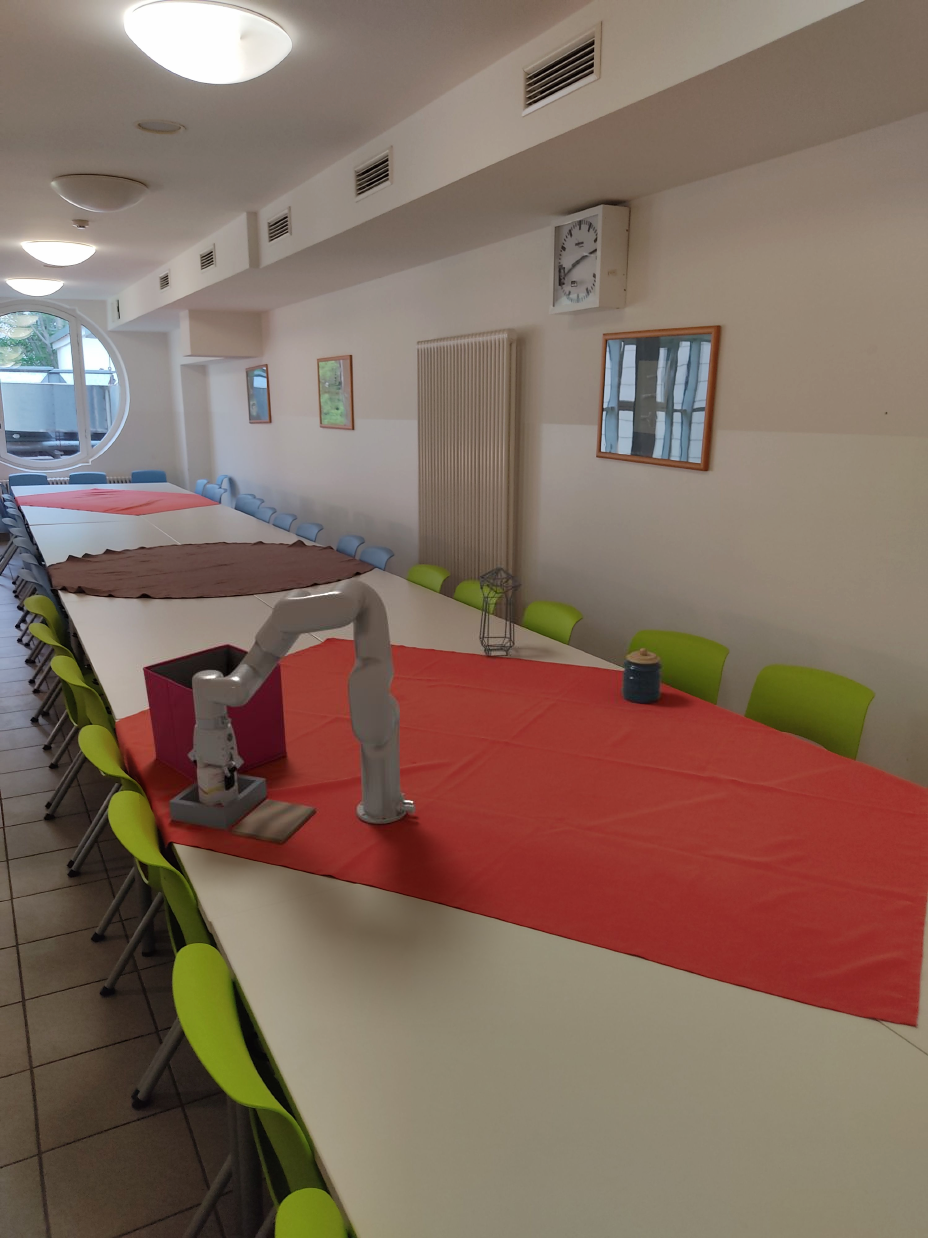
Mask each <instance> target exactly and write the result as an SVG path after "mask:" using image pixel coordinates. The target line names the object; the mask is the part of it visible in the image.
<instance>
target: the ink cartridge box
mask: <svg viewBox="0 0 928 1238" xmlns="http://www.w3.org/2000/svg"><path fill="white" fill-rule="evenodd" d="M232 762H233V761H232ZM233 764H234V765H235V762H233ZM228 768H229V765H228ZM229 770H230V768H229ZM225 775H226V774H225V772H224V770H223V767H222V766H219V765H213V764H207V763H204V764H203V763H202V762H201V760H200V757H198V758H197V778H198V789H199V800H200V803H201V804H207V805H212V806H217V807H224V806H226V805H227V804H228V803H229V802H231V801H232V800H233V799H234V798H236V797H237V796H238V795H239V794H238V785H237V771H236V772H234V777H235V785H234V787H232V788H231V789H230V790H228V791H227V790H225V782H224V776H225Z"/></svg>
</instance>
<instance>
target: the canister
mask: <svg viewBox="0 0 928 1238" xmlns="http://www.w3.org/2000/svg"><path fill="white" fill-rule="evenodd" d="M625 658H626V659H625V660H624V661H623V662H622V665H623V667H624V669H623V670H622V687H621V695H622V697H623V699H625V700H627V701H628V702H631V703H638V704H651V703H655V702H658V701H659V700H660V697H661V694H662V693H661V686H662V685H661V684H662V677H663V675H662V673H661V670H662V668H663V665H662V663H661V658H660V656H658V655H657V654H656V653H654V652H651V651H648V649H647V648H645V647H641V648H640V649H639V650H635V651H632V652H631V653H629V654H626V656H625Z"/></svg>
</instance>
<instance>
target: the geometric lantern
mask: <svg viewBox="0 0 928 1238" xmlns="http://www.w3.org/2000/svg"><path fill="white" fill-rule="evenodd" d="M502 573H504V575H505V576H506V577H503V575H502ZM476 579H478V581H479V589H480V590H481V592H482V596H483V597H482V606H481V607H482V608H481V617H480V618H481V619H480V627H479V638H478V639H479V643H480V646H482V647H483V649H484V652H485V655H486V656H487V657H503V656H505V657H506V656H507V657H508V655H509V650H510V649H512V648H513V647H514V646H515V641H516V640H515V602H514V598H515V594H516V593H515V592H518V589H519V588H520V587H521V586H522V584H521V583H520V582H519V581H518V580H517V578H516V577H515V576H514V575H513V574H511V573H509V571H507V570H505V568H504V567H501V566H497V567H495V568H493V569H491V570H489V571H487V572H486V573H483V574H482V575H480V576H477V577H476ZM504 579H506V580H505V581H504ZM492 580H493V582H491V581H492ZM498 580H500V584H498ZM510 580H511V581H512V582H513V583H514V584H510V585H505V584H506V583H508V582H509V581H510ZM484 587H488V588H489V591H488V593H487V595H486V596H485V593H484ZM494 587H495V589H494ZM498 588H501V590H502V591H499V592H498ZM505 588H508V589H507V590H505ZM511 590H512V593H511V595H510V597H509V596H508V595H507V592H509V591H511ZM491 591H493V592H494V594H493V596H490V594H491ZM498 594H499V595H501V594H504V596H496V595H498ZM493 598H495V599H498V598H500V599H501V598H502V599H503V598H505V599H506V603H505V605H506V606H505V607H506V609H505V625H504V627H505V628H504V636H490V605H500V603H499V602H498V603H493V602H492V603H491V601H492V599H493ZM508 617H509V618H508ZM508 621H509V622H508ZM486 623H487V624H486ZM486 625H487V633H486ZM507 625H509V628H508V630H509V632H508V633H509V635H508V636H509V637H508V636H507V627H508V626H507ZM485 633H486V634H487V635H486V636H485ZM485 639H487V640H485ZM490 639H503V641H502V643H499V644H497V643H495V644H490V643H489V640H490ZM506 639H507V640H508V641H507V642H505V640H506ZM504 642H505V643H504ZM508 643H509V645H507V644H508ZM492 652H504V653H505V654H498V655H497V654H496V655H492Z"/></svg>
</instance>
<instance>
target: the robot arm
mask: <svg viewBox="0 0 928 1238" xmlns="http://www.w3.org/2000/svg"><path fill="white" fill-rule="evenodd" d="M271 612H272V613H271V614H269V616H268V618H267V619H266V621H265V622H264V623H263V625H262V626H261V627H260V628H259V629H258V631H257V632H256V634H255V636H254V639H255V641H254V643H253V645H252V647H251V648H250V649H249V651H248V654H247V655H246V656H245V658H244V659H243V660H242V662H241V663H240V664H239V666H238V667H237V668H236V669H235V670H234V671H233V672H232V673H231V674H230V675H228V676H226V677H224V676H223V674H222V673H221V672H219V671H216V670H205V671H201V672H198V673H196V674H195V675H194V676H193V678H192V687H193V697H194V707H195V717H196V725H195V728H194V749H193V750H192V751H191V752H190V753H189V754H188V757H189V758H190V759H191V760H192V761H193V763H194V765H195V766H196V767H197V758H198V757H200V760H201V762H202V763H203V764H204V763H207V764H213V765H219V766H222V767H223V770H224V772H225V774H226V775H225V776H224V782H225V790H227V791H228V790H230V789H231V788H232V787H234V785H235V777H234V772H236V770H237V769H238V768H239V767H240V766H241V765H242V764H243V763H244V761H243V760H242V759H241V758H240V756H239V755H238V752H237V745H236V739H235V735H234V731H233V728H232V726H231V724H230V723H231V718H228V715H227V706H232V707H239V706H243V705H244V704H246V703H247V702H248V701H249V700H250V698H251V697H252V696H253V695H254V693H255V692H256V691H257V690H258V689H259V688H260V686H261V685H262V684H263V682H264V681H265V680H266V678H267V677H268V676H269V674H270V673H271V671H272V670H273V669H274V667H275V666H276V665H277V663H279V662H280V661H281V660H282V659H283V658H285V656H287V654H288V652H290V650H291V649H292V647H293V646H294V645H295V643H296V642H297V640H298V639H299V638H300V637H301V635H303V634H311V633H317V632H323V631H324V632H325V631H331V630H337V629H342V628H345V627H346V626H347V627H348V626H349V625H350V624H352V626H353V645H354V656H355V662H354V666H353V668H352V669H351V671H350V673H349V677H348V681H347V696H348V703H349V706H348V707H349V713H350V714H349V715H350V725H351V730H352V733H353V736H354V737H355V738H356V739H355V740H357V741H358V742H359V743H360V771H361V772H360V773H361V776H360V777H361V797H362V799H361V800H362V801H361V802H360V803H358V805H357V807H356V815H357V818H359V819H360V820H362V821H363V822H366V823H369V824H374V825H375V824H376V825H377V824H383V825H384V824H390V823H393V822H396V821H398V820H401V819H402V818H404V816H406V814H407V813H410V814H415V812H416V806H415V801H414V800H406V798H405V793H404V792H401V773H400V772H401V768H400V767H401V765H400V764H401V763H400V762H401V761H400V724H401V723H400V722H401V721H400V720H401V717H400V716H401V714H400V713H401V712H400V705H399V703H398V701H397V699H396V698H395V697H394V696H393V695H392V694H391V692H390V687H391V684H392V681H393V679H394V674H395V672H394V671H395V670H394V664H393V663H394V662H393V655H392V645H391V639H390V638H391V637H390V627H389V619H388V615H387V609H386V605H385V604H384V601H383V600H382V597H381V596H380V594H379V593H378V592H377V591H376V590H375V589H374V588H373V587H371V585H369V584H367V583H366V582H363V581H361V580H359V579H355V578H354V579H353V578H347V579H343V580H341V581H338V582H337V583H335V584H334V586H332V588H331V589H330V590H329V591H328V592H326V593H325V592H324V593H320V594H314V595H313V594H312V593H311V592H309V591H308V590H306V589H303V588H295V589H292V590H289V591H288V592H287V593H286V594H284V595H283V596H282V597H281V598H280V599H279V600H278V601H277V602H276V603H275V604H274V606H273V608H272V611H271ZM232 760H233V761H234V762H235V765H234V764H233V762H232ZM228 765H229V768H230V770H229V768H228Z"/></svg>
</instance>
